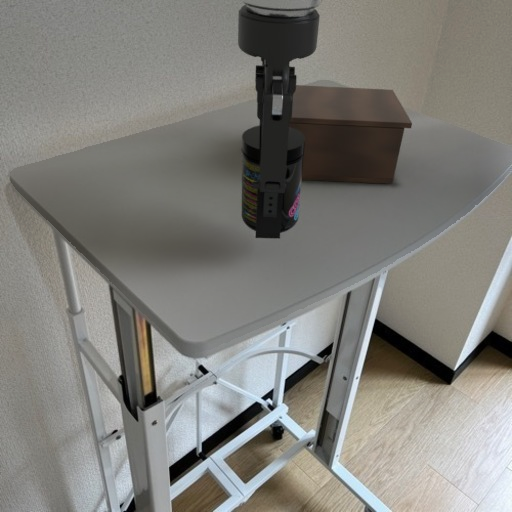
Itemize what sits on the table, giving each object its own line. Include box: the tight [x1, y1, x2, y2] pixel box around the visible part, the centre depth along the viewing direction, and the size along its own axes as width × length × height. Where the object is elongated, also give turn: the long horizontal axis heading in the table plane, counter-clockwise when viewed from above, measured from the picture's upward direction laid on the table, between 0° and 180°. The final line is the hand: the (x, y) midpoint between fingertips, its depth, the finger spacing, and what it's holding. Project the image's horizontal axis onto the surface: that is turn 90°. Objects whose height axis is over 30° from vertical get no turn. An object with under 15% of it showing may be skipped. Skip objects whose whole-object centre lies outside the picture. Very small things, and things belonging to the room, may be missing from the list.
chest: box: [289, 123, 405, 185], centre depth 85 cm, size 17×14×9 cm
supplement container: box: [240, 125, 305, 234], centre depth 61 cm, size 7×7×10 cm
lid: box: [289, 84, 413, 129], centre depth 83 cm, size 18×14×1 cm
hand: (267, 218), depth 64 cm, fingers closed on supplement container, 7 cm apart
